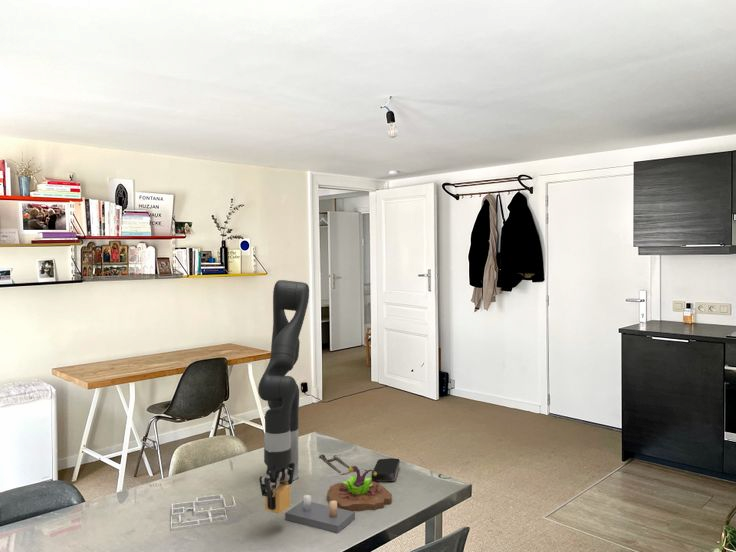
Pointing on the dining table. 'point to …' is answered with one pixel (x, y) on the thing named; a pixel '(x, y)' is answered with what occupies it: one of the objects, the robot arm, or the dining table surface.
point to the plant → (359, 493)
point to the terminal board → (320, 515)
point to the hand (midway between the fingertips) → (277, 504)
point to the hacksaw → (333, 465)
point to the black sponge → (386, 469)
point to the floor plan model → (201, 512)
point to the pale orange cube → (280, 498)
